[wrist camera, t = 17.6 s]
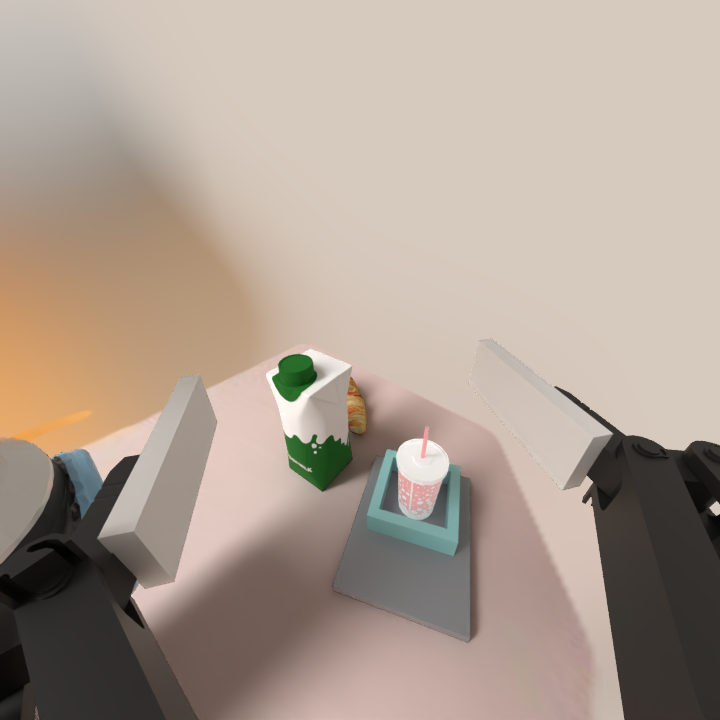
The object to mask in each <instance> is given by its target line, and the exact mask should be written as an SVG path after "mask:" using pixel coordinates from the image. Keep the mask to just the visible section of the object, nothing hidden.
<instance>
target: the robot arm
mask: <svg viewBox="0 0 720 720" xmlns="http://www.w3.org/2000/svg"><path fill="white" fill-rule="evenodd" d="M468 384H469V385H470V387H471V388H472V389H473V390H474V391H475V392H476V393H477V395H478V396H479V397H480V398H481V399H482V400H483V401H484V402H485V404H486V405H488V407H489V408H490V409H491V410H492V411H493V413H494V414H495V415H496V416H497V417H498V418H499V419H500V420H501V422H502V423H503V424H504V425H505V426H506V427H507V428H508V429H509V431H510V432H511V433H512V434H513V435H514V436H515V438H516V439H517V440H518V441H519V442H520V443H521V444H522V445H523V447H524V448H525V449H526V450H527V451H528V452H529V453H530V454H531V456H532V457H533V458H534V459H535V460H536V461H537V462H538V464H539V465H540V466H541V467H542V468H543V469H544V470H545V471H546V472H547V473H548V475H549V476H550V477H551V478H552V479H553V481H555V482H556V484H557V485H558V486H559V487H560V488H561V489H562V490H565V489H570V488H573V487H578V486H580V485H581V483H582V482H583V480H584V479H585V477H586V475H587V476H588V477H589V478H590V479H591V480H592V481H593V484H592V485H591V486H590V488H589V490H588V491H587V492H586V494H585V495H584V497H583V500H582V502H583V503H585V504H586V502H587V501H588V500H589V498H590V497H592V504H591V506H593V509H594V517H595V523H596V530H597V537H598V544H599V551H600V557H601V564H602V570H603V578H604V584H605V591H606V597H607V605H608V611H609V618H610V625H611V632H612V638H613V645H614V651H615V659H616V664H617V672H618V679H619V685H620V692H621V699H622V705H623V712H624V719H625V720H720V514H719V515H718V516H716V515H715V514H714V513H712V511H711V510H710V509H709V507H710V506H711V505H713V504H714V503H715V502H716V501H718V502H719V504H720V445H717V444H714V443H710V442H706V441H695V442H692V443H691V444H690V445H689V446H688V447H687V449H686V450H685V451H679V450H668V449H665V448H663V447H662V446H660V445H659V444H657V443H655V442H654V441H652V440H649V439H646V438H644V437H639V436H634V435H632V436H626V435H624V434H623V433H622V432H620V431H619V430H618V429H616V428H615V427H614V426H613V425H611V424H610V423H609V422H607V421H606V420H605V419H603V418H602V417H601V416H599V415H598V414H597V413H595V412H594V411H592V410H590V408H589V407H587V406H586V405H585V404H584V403H581V402H580V400H578V399H577V398H576V397H574V396H573V395H572V394H570V393H569V392H567V391H565V390H563V389H560V388H558V387H556V386H555V387H553V386H552V385H551V384H549V383H548V382H547V381H545V380H544V379H543V378H541V377H540V376H539V375H538V374H536V373H535V372H534V371H533V370H531V369H530V368H529V367H528V366H526V365H525V364H524V363H522V362H521V361H520V360H519V359H517V358H516V357H515V356H513V355H512V354H511V353H510V352H508V351H507V350H506V349H504V348H503V347H502V346H501V345H499V344H498V343H497V342H495V341H494V340H493V339H486V340H479V341H478V345H477V349H476V354H475V358H474V362H473V366H472V370H471V375H470V379H469V383H468ZM216 425H217V419H216V417H215V414H214V411H213V409H212V406H211V403H210V401H209V398H208V395H207V393H206V390H205V387H204V384H203V382H202V379H201V376H200V375H193V376H186V377H180V379H179V381H178V383H177V385H176V387H175V389H174V390H173V393H172V394H171V396H170V398H169V400H168V402H167V404H166V406H165V408H164V410H163V412H162V414H161V416H160V418H159V420H158V422H157V423H156V425H155V427H154V429H153V431H152V433H151V435H150V437H149V439H148V441H147V443H146V445H145V447H144V449H143V451H142V453H141V455H135V456H129V457H124V458H123V459H122V460H121V461H120V462H119V463H118V464H117V465H116V466H115V467H114V468H113V469H112V470H111V471H110V473H109V474H108V476H107V478H106V479H105V481H104V483H103V481H102V479H101V476H100V474H99V472H98V470H97V468H96V466H95V464H94V462H93V460H92V458H91V456H90V454H89V452H87V451H86V450H83V449H75V450H72V451H69V452H61V453H59V454H57V455H54V456H53V458H52V459H50V458H49V456H48V455H47V454H46V453H45V452H44V451H42V450H41V449H40V448H38V447H37V446H36V445H34V444H32V443H30V442H27V441H25V440H20V439H15V438H4V437H0V720H34V719H35V708H36V706H37V710H38V714H39V719H40V720H198V718H197V717H196V715H195V713H194V711H193V709H192V707H191V705H190V703H189V702H188V700H187V698H186V696H185V694H184V692H183V690H182V688H181V687H180V685H179V683H178V681H177V679H176V677H175V675H174V673H173V672H172V670H171V668H170V666H169V664H168V662H167V660H166V658H165V657H164V655H163V653H162V651H161V649H160V647H159V645H158V643H157V642H156V640H155V638H154V636H153V634H152V632H151V630H150V628H149V627H148V625H147V623H146V621H145V619H144V617H143V615H142V613H141V612H140V610H139V608H138V606H137V604H136V602H135V600H134V599H133V598H132V597H131V595H132V593H133V592H134V591H135V589H136V588H137V586H138V584H139V583H140V584H141V585H142V586H143V587H144V588H145V589H146V588H150V587H154V586H159V585H163V584H167V583H171V582H174V580H175V577H176V573H177V569H178V566H179V562H180V558H181V555H182V551H183V547H184V544H185V540H186V536H187V532H188V529H189V525H190V521H191V518H192V514H193V510H194V507H195V503H196V499H197V496H198V492H199V488H200V484H201V481H202V477H203V473H204V470H205V466H206V462H207V459H208V455H209V451H210V448H211V444H212V440H213V436H214V433H215V429H216Z"/></svg>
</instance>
